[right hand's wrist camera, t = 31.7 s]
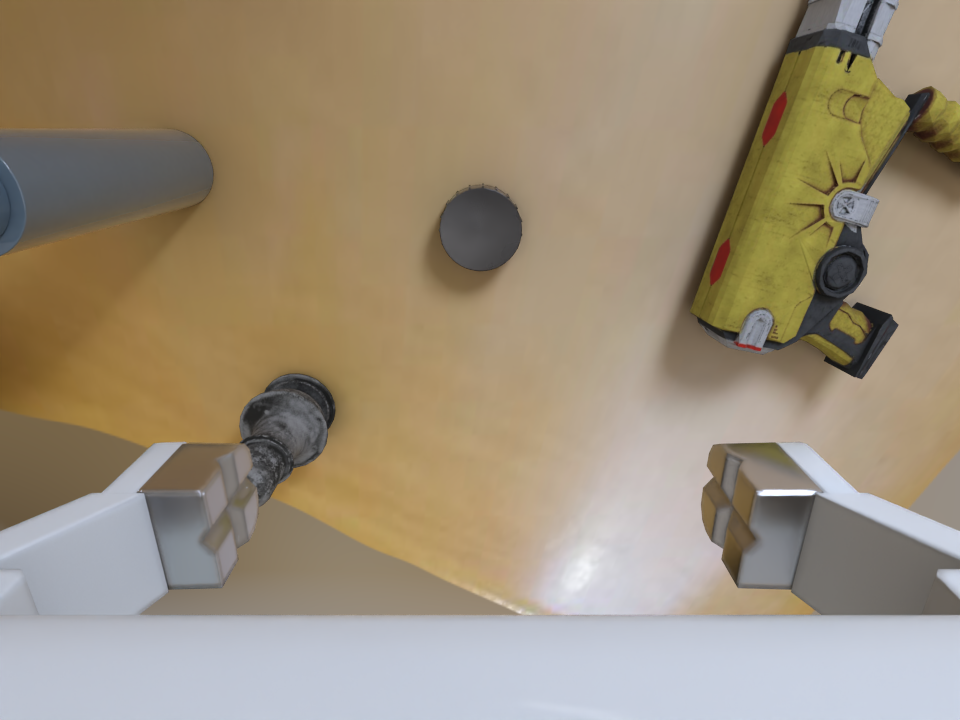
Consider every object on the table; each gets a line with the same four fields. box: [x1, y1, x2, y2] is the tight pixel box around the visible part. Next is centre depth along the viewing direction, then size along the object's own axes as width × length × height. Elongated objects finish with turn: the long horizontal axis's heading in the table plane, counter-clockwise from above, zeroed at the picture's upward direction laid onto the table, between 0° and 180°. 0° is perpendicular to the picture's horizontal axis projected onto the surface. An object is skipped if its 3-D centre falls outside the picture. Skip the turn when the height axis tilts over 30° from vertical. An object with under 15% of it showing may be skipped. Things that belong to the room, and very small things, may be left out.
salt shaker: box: [239, 374, 335, 507], centre depth 37 cm, size 6×6×12 cm
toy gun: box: [690, 0, 960, 379], centre depth 34 cm, size 5×24×15 cm
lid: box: [439, 184, 522, 271], centre depth 36 cm, size 5×5×2 cm
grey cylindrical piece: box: [0, 128, 213, 257], centre depth 28 cm, size 5×5×18 cm
